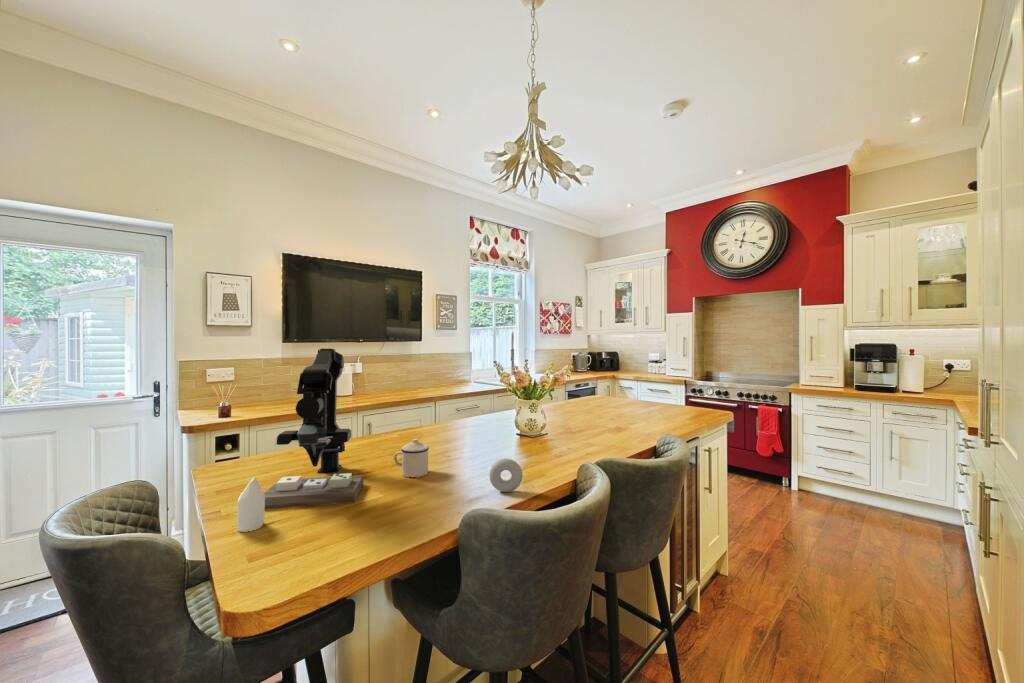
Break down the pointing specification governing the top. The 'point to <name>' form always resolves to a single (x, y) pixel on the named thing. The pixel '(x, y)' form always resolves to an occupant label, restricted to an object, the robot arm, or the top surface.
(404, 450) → the teacup with lid
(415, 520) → the top surface
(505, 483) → the donut
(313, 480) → the tile two
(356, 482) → the grey tray with tiles
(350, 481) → the tile three
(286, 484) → the tile one
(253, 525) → the white pointed wedge
